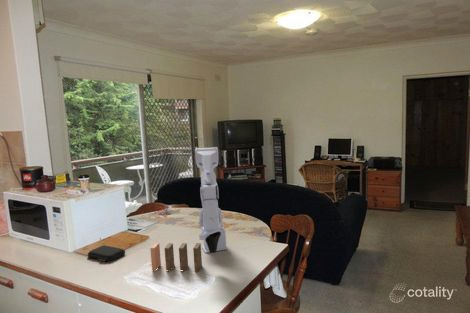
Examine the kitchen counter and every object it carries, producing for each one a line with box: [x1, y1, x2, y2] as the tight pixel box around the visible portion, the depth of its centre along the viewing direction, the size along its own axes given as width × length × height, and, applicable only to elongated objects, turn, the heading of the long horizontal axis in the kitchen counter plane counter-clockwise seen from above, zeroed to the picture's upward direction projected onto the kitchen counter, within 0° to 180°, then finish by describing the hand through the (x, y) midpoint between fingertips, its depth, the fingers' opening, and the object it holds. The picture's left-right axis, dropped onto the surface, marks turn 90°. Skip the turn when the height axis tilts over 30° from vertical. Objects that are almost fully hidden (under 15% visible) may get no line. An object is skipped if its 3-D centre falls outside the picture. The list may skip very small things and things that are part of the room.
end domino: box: [150, 242, 162, 271], centre depth 125 cm, size 2×5×9 cm, turn 172°
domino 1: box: [164, 242, 175, 271], centre depth 124 cm, size 2×5×9 cm, turn 173°
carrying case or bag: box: [87, 244, 126, 263], centre depth 139 cm, size 11×3×15 cm
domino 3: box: [192, 242, 203, 273], centre depth 123 cm, size 2×5×9 cm, turn 173°
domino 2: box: [178, 242, 189, 272], centre depth 124 cm, size 2×5×9 cm, turn 173°
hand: (212, 252), depth 122 cm, fingers closed
